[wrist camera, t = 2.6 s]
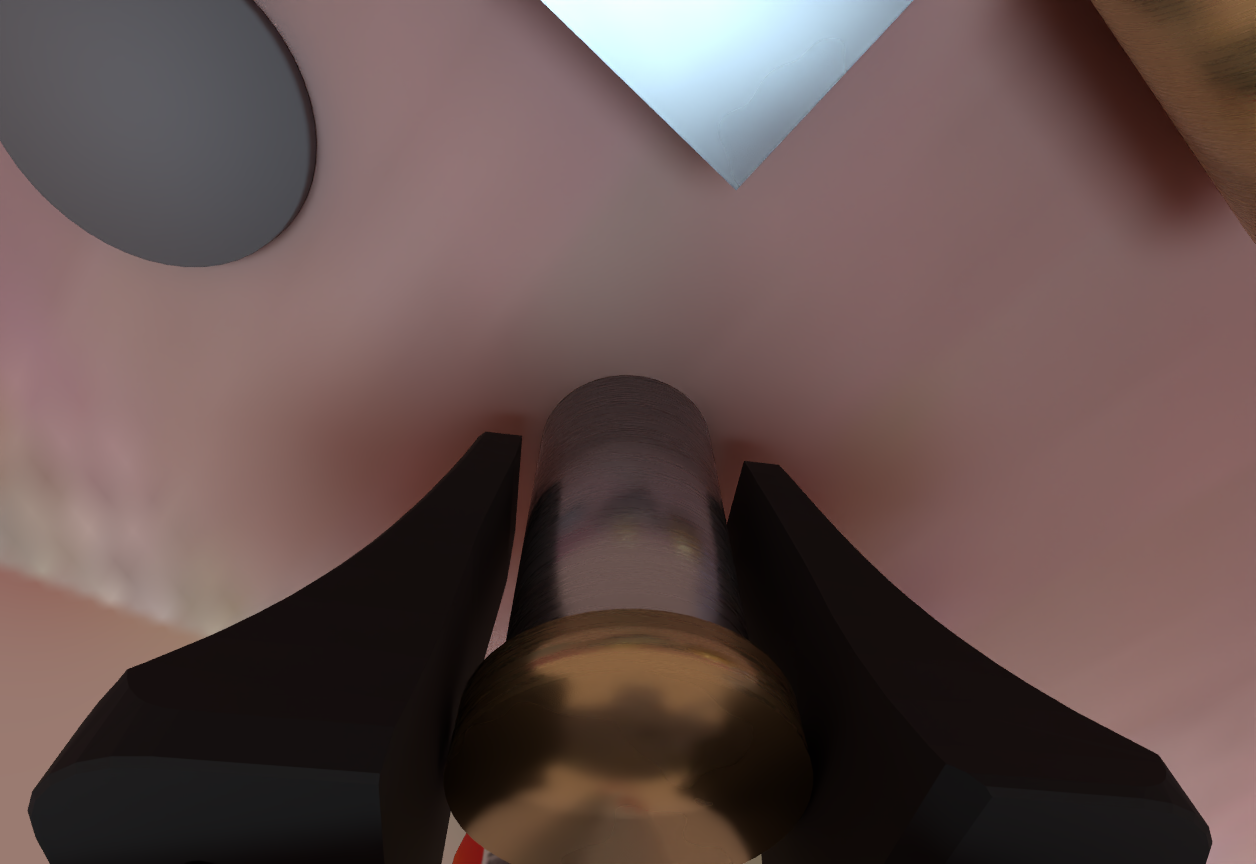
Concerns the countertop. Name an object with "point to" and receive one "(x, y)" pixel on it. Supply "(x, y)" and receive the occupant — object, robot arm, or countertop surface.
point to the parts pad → (158, 122)
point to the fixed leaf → (1200, 81)
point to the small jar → (627, 661)
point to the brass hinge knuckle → (730, 63)
